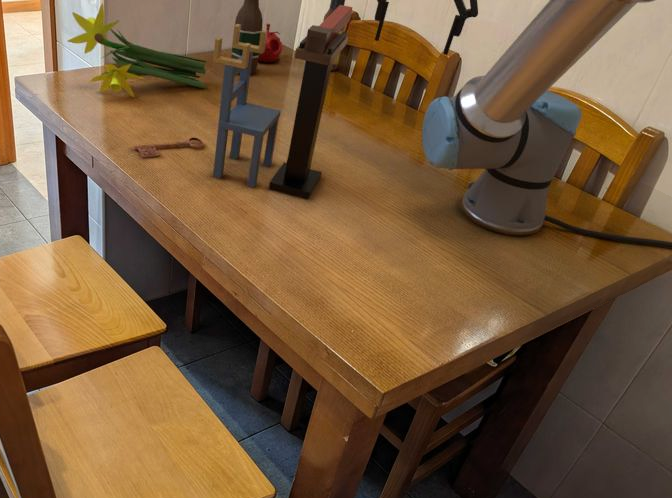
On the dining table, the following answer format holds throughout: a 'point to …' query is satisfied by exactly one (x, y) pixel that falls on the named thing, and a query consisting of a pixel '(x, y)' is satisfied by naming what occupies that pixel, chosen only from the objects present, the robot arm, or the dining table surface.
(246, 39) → the beer bottle
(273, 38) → the pomegranate
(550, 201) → the dining table surface
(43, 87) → the dining table surface
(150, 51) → the daffodil flowers
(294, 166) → the stand
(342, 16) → the hanger bar
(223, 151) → the chair
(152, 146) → the key
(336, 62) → the sauce bottle
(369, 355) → the dining table surface
